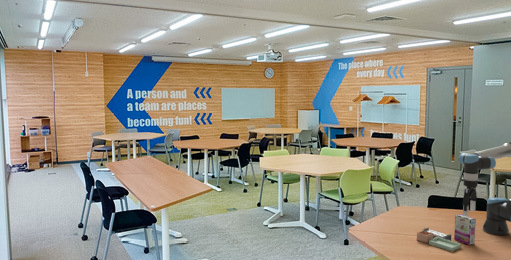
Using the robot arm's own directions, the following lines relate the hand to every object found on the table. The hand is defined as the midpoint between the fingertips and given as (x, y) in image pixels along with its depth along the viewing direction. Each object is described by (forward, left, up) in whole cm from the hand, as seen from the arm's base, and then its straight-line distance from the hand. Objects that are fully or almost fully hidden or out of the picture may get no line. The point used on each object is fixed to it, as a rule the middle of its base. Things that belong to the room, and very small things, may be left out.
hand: (469, 213), depth 242 cm
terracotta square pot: (+16, -19, -19) cm, 32 cm away
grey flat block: (+6, -17, -17) cm, 25 cm away
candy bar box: (-2, -3, -20) cm, 20 cm away
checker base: (+6, -17, -19) cm, 26 cm away
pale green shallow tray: (+15, -7, -19) cm, 25 cm away
